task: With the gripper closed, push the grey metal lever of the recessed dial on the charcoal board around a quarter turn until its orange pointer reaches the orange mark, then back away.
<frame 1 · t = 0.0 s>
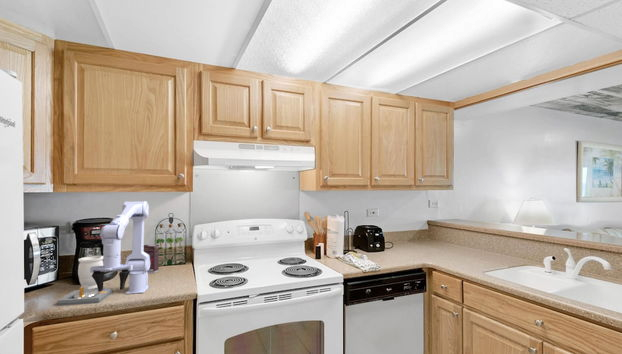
hand: (111, 289, 118), 10 cm above the worktop, tool pointing down, fingers open, 7 cm apart
dial: (86, 290, 136), point 4 cm above the worktop, hinge at 0.0°
dial board: (86, 298, 136), on the worktop
supplement box: (149, 272, 178), on the worktop
jar: (90, 288, 151), on the worktop
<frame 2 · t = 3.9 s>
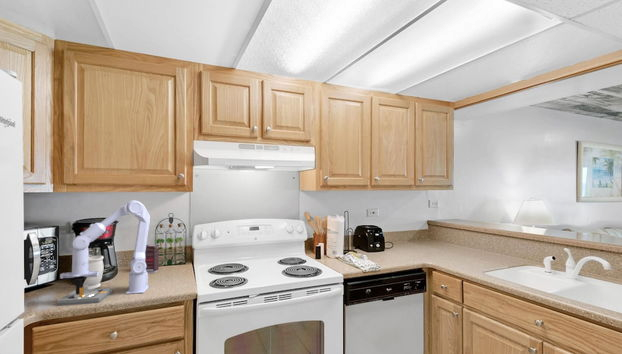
hand: (79, 293, 132), 3 cm above the worktop, tool pointing down, fingers closed, pressing on dial
dial: (86, 290, 136), point 4 cm above the worktop, hinge at 0.2°, touching gripper
everything else where it was.
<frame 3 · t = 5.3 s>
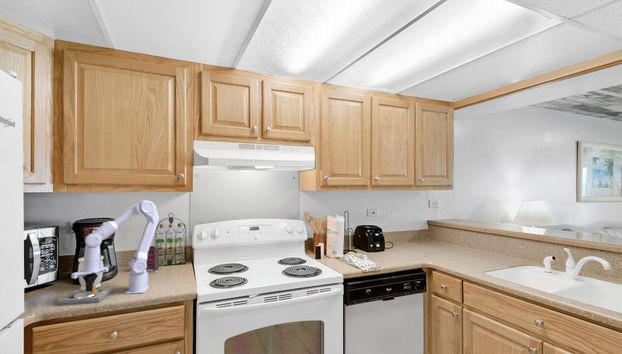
hand: (89, 291, 134), 4 cm above the worktop, tool pointing down, fingers closed, pressing on dial
dial: (86, 290, 136), point 4 cm above the worktop, hinge at 62.6°, touching gripper
everything else where it was.
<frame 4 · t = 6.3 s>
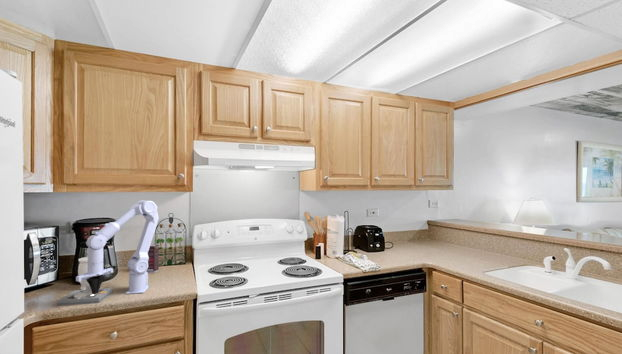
hand: (95, 293, 132), 4 cm above the worktop, tool pointing down, fingers closed
dial: (86, 290, 136), point 4 cm above the worktop, hinge at 73.0°
everything else where it was.
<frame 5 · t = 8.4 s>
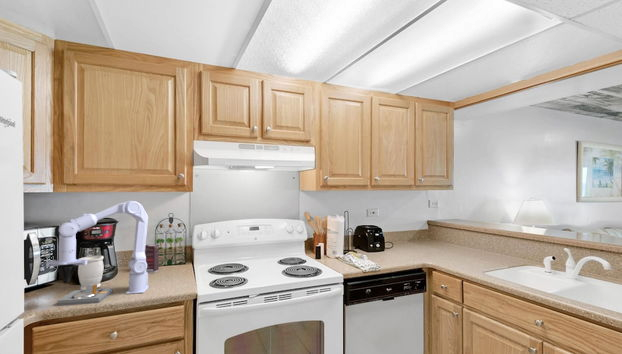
hand: (66, 282, 128), 10 cm above the worktop, tool pointing down, fingers closed
nothing on the worktop moved.
at the end: dial at +73° (first picture: +0°) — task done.
